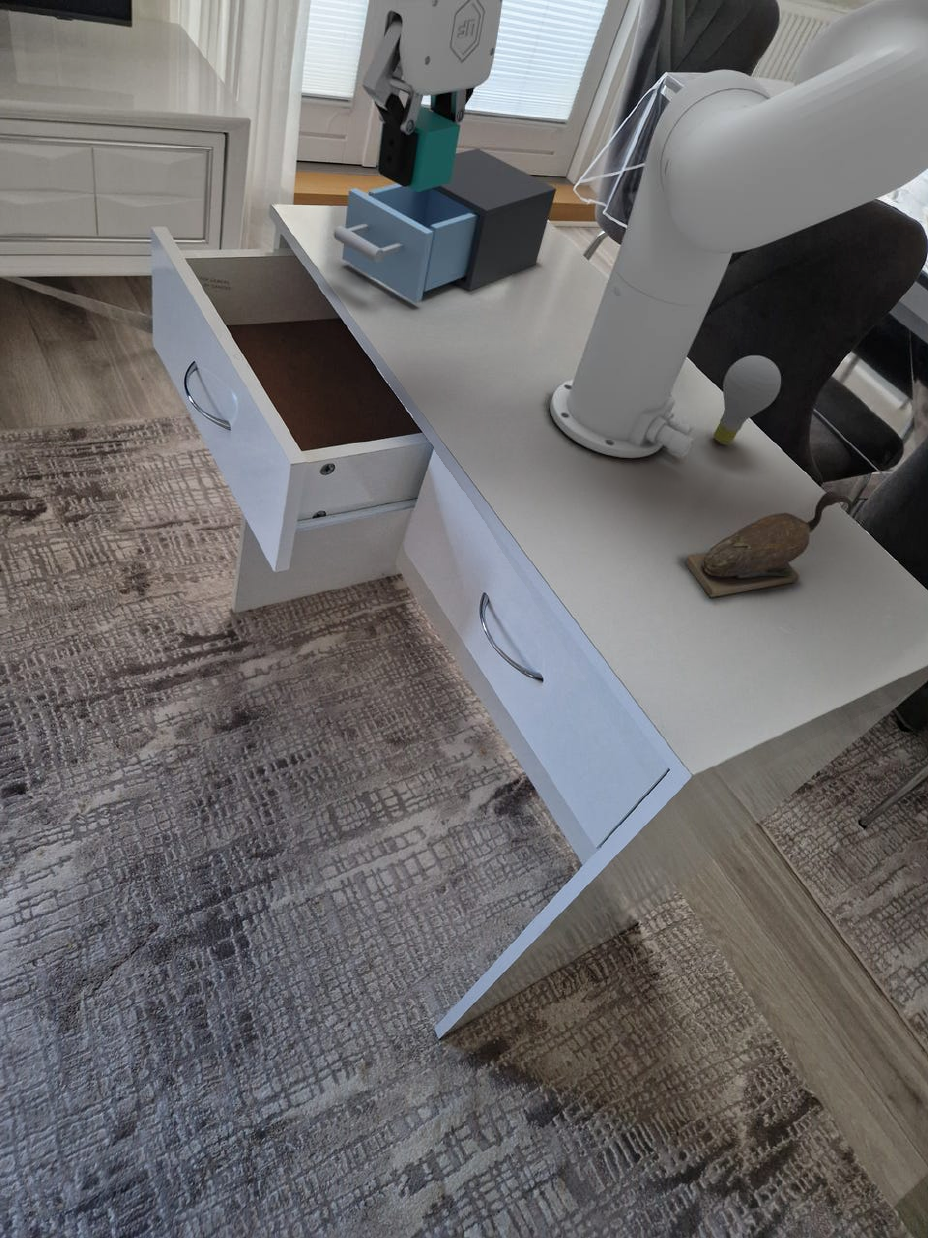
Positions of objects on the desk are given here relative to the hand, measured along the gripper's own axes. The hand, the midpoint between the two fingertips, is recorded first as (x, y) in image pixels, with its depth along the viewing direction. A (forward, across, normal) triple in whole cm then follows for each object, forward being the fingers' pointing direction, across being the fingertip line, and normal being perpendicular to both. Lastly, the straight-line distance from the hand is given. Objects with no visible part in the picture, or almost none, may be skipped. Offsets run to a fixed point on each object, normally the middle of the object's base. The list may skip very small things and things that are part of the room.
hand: (414, 171), depth 69 cm
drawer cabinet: (+19, +30, +12) cm, 37 cm away
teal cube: (0, 0, 0) cm, 0 cm away
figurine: (+20, +4, -41) cm, 46 cm away
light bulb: (+20, +20, -30) cm, 41 cm away
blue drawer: (+18, +17, +12) cm, 28 cm away
